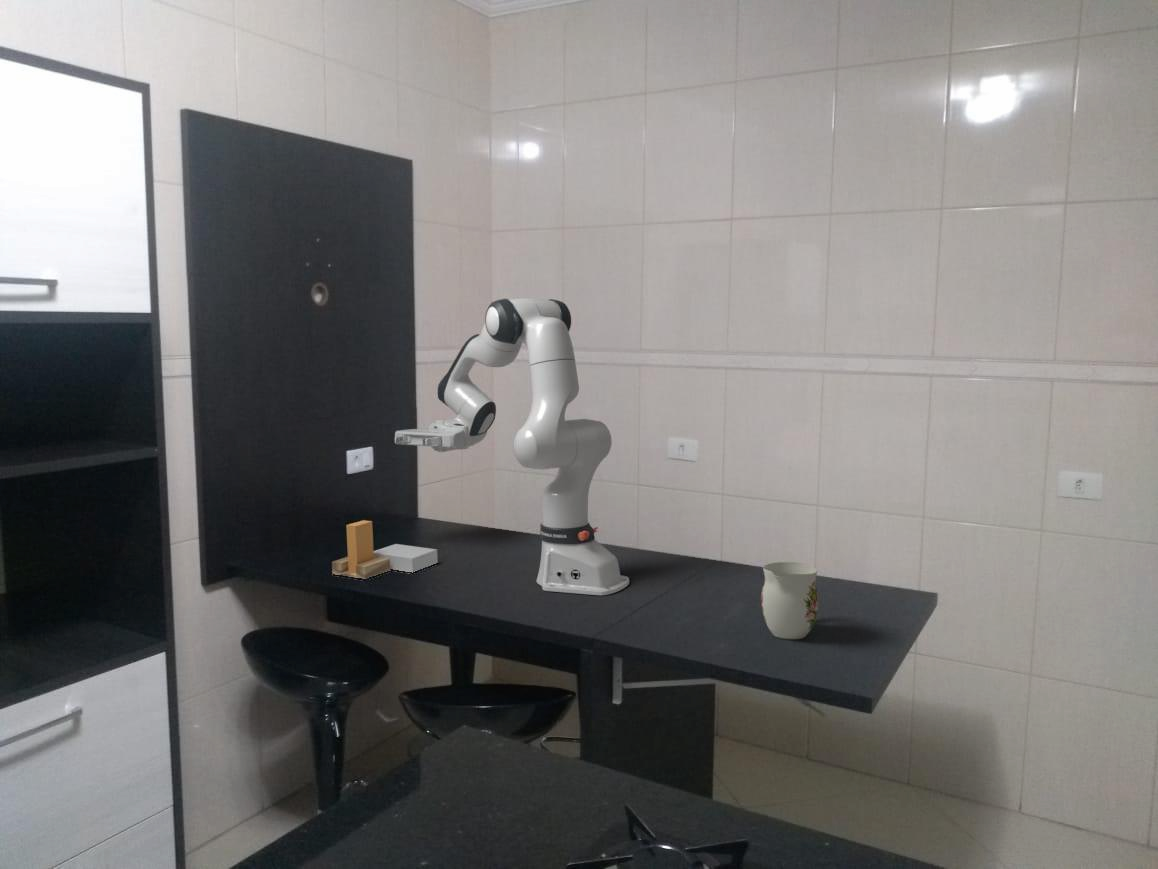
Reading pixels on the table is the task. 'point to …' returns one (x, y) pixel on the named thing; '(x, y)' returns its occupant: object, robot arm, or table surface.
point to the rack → (361, 568)
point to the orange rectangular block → (359, 544)
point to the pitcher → (789, 599)
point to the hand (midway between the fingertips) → (410, 441)
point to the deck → (408, 557)
